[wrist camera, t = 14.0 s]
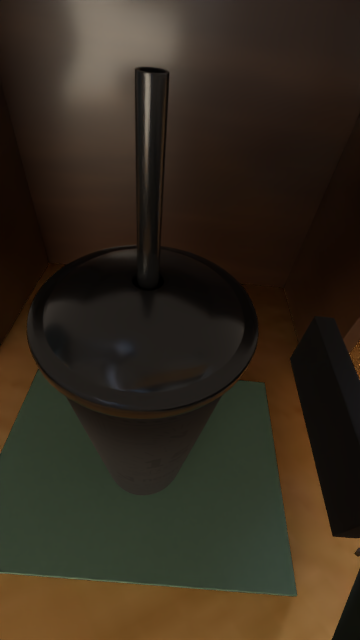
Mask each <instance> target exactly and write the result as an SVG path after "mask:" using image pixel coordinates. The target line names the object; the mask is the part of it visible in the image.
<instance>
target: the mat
mask: <svg viewBox="0 0 360 640" xmlns="http://www.w3.org/2000/svg"><path fill="white" fill-rule="evenodd" d="M0 573H4V574H16V575H29V576H42V577H54V578H67V579H80V580H92V581H105V582H117V583H130V584H143V585H155V586H168V587H181V588H193V589H206V590H219V591H231V592H244V593H256V594H269V595H282V596H297V591H296V584H295V578H294V571H293V565H292V558H291V552H290V545H289V538H288V532H287V525H286V519H285V512H284V506H283V499H282V493H281V486H280V480H279V473H278V467H277V460H276V454H275V447H274V441H273V434H272V428H271V421H270V415H269V408H268V402H267V395H266V389H265V383H263V382H253V381H243V380H238V382H237V383H236V384H235V385H234V386H233V387H232V388H231V389H230V390H228V391H227V392H226V393H225V394H223V395H222V397H221V398H220V400H219V402H218V404H217V405H216V407H215V409H214V411H213V412H212V414H211V416H210V418H209V419H208V421H207V423H206V425H205V426H204V428H203V430H202V432H201V433H200V435H199V437H198V439H197V440H196V442H195V444H194V446H193V447H192V449H191V451H190V453H189V454H188V456H187V458H186V460H185V461H184V463H183V465H182V467H181V468H180V470H179V472H178V474H177V475H176V477H175V478H174V480H173V481H172V482H171V483H170V484H169V485H168V486H167V487H166V488H165V489H163V490H161V491H160V492H157V493H155V494H151V495H135V494H131V493H129V492H127V491H125V490H123V489H122V488H121V487H119V486H118V485H117V483H116V482H115V481H114V479H113V478H112V476H111V474H110V473H109V471H108V469H107V468H106V466H105V464H104V462H103V461H102V459H101V457H100V455H99V454H98V452H97V450H96V448H95V447H94V445H93V443H92V441H91V440H90V438H89V436H88V434H87V433H86V431H85V429H84V427H83V426H82V424H81V422H80V421H79V419H78V417H77V415H76V414H75V412H74V410H73V408H72V407H71V405H70V403H69V401H68V400H67V398H66V396H64V395H63V394H61V393H60V392H59V391H58V390H57V389H56V388H54V387H53V386H52V385H51V384H50V383H49V382H48V380H47V379H46V378H45V377H44V376H43V374H42V373H41V371H40V370H39V368H38V371H37V373H36V375H35V377H34V380H33V382H32V384H31V386H30V389H29V391H28V393H27V395H26V398H25V400H24V402H23V404H22V407H21V409H20V411H19V413H18V416H17V418H16V420H15V422H14V425H13V427H12V429H11V431H10V434H9V436H8V438H7V440H6V443H5V445H4V447H3V449H2V451H1V454H0Z"/></svg>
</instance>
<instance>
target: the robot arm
mask: <svg viewBox="0 0 360 640" xmlns="http://www.w3.org/2000/svg"><path fill="white" fill-rule="evenodd" d="M290 361H291V365H292V370H293V374H294V378H295V382H296V386H297V390H298V394H299V399H300V403H301V407H302V411H303V415H304V419H305V423H306V428H307V432H308V436H309V440H310V444H311V448H312V452H313V457H314V461H315V465H316V469H317V473H318V477H319V481H320V486H321V490H322V494H323V498H324V502H325V506H326V510H327V515H328V519H329V523H330V527H331V531H332V535H333V537H346V538H360V380H359V377H358V375H357V373H356V370H355V368H354V365H353V363H352V360H351V358H350V355H349V353H348V351H347V348H346V346H345V343H344V341H343V338H342V336H341V333H340V331H339V329H338V326H337V324H336V321H335V319H334V318H330V317H320V316H314V318H313V320H312V321H311V323H310V325H309V327H308V328H307V330H306V332H305V333H304V335H303V337H302V339H301V340H300V342H299V344H298V345H297V347H296V349H295V351H294V352H293V354H292V356H291V357H290ZM354 554H355V555H356V556H360V548H358V549H357V550H356V552H355V553H354ZM332 640H360V569H359V572H358V574H357V577H356V579H355V582H354V585H353V587H352V590H351V592H350V595H349V597H348V600H347V602H346V605H345V607H344V610H343V613H342V615H341V618H340V620H339V623H338V625H337V628H336V630H335V633H334V635H333V638H332Z"/></svg>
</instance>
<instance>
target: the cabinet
mask: <svg viewBox="0 0 360 640" xmlns="http://www.w3.org/2000/svg"><path fill="white" fill-rule="evenodd" d="M142 66H146V67H157V68H162V69H166V70H168V71H169V72H170V77H169V97H168V116H167V135H166V154H165V173H164V192H163V211H162V230H161V246H166V247H171V248H176V249H180V250H184V251H187V252H191V253H193V254H196V255H199V256H201V257H203V258H206V259H208V260H209V261H211V262H213V263H215V264H217V265H218V266H220V267H221V268H223V269H224V270H226V271H227V272H228V273H229V274H231V275H232V276H233V277H234V278H235V279H236V280H237V281H238V282H239V283H245V284H254V285H263V286H273V287H282V288H284V291H285V294H286V298H287V302H288V306H289V309H290V313H291V317H292V320H293V324H294V328H295V332H296V335H297V339H298V343H299V342H300V340H301V339H302V337H303V335H304V333H305V332H306V330H307V328H308V327H309V325H310V323H311V321H312V320H313V318H314V316H320V317H330V318H334V319H335V321H336V324H337V326H338V329H339V331H340V333H341V336H342V338H343V341H344V343H345V346H346V348H347V351H348V353H350V352H351V350H352V349H353V348H354V347H355V345H356V344H357V343H358V342H359V340H360V0H0V346H1V344H2V342H3V340H4V339H5V337H6V335H7V334H8V332H9V330H10V328H11V327H12V325H13V323H14V322H15V320H16V318H17V316H18V315H19V313H20V311H21V310H22V308H23V306H24V304H25V303H26V301H27V299H28V298H29V296H30V294H31V292H32V291H33V289H34V287H35V286H36V284H37V282H38V280H39V279H40V277H41V275H42V274H43V272H44V270H45V268H46V267H47V265H48V263H57V264H66V265H67V264H69V263H70V262H72V261H74V260H76V259H78V258H80V257H82V256H85V255H87V254H90V253H93V252H96V251H99V250H103V249H107V248H112V247H118V246H126V245H137V227H136V149H135V68H136V67H142Z"/></svg>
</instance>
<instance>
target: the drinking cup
mask: <svg viewBox="0 0 360 640" xmlns="http://www.w3.org/2000/svg"><path fill="white" fill-rule="evenodd" d="M169 77H170V72H169V71H168V70H166V69H162V68H157V67H146V66H142V67H136V68H135V149H136V227H137V245H126V246H118V247H112V248H107V249H103V250H99V251H96V252H93V253H90V254H87V255H85V256H82V257H80V258H78V259H76V260H74V261H72V262H70V263H69V264H67V265H65V266H64V267H62V268H61V269H60V270H58V271H57V272H56V273H55V274H53V275H52V276H51V277H50V278H49V279H48V280H47V281H46V282H45V283H44V285H43V286H42V287H41V288H40V290H39V291H38V293H37V295H36V296H35V298H34V300H33V302H32V305H31V307H30V311H29V314H28V320H27V339H28V344H29V347H30V351H31V353H32V356H33V358H34V360H35V362H36V365H37V366H38V368H39V370H40V371H41V373H42V374H43V376H44V377H45V378H46V379H47V380H48V382H49V383H50V384H51V385H52V386H53V387H54V388H56V389H57V390H58V391H59V392H60V393H61V394H63V395H64V396H66V398H67V400H68V401H69V403H70V405H71V407H72V408H73V410H74V412H75V414H76V415H77V417H78V419H79V421H80V422H81V424H82V426H83V427H84V429H85V431H86V433H87V434H88V436H89V438H90V440H91V441H92V443H93V445H94V447H95V448H96V450H97V452H98V454H99V455H100V457H101V459H102V461H103V462H104V464H105V466H106V468H107V469H108V471H109V473H110V474H111V476H112V478H113V479H114V481H115V482H116V483H117V485H118V486H119V487H121V488H122V489H123V490H125V491H127V492H129V493H131V494H135V495H151V494H155V493H157V492H160V491H161V490H163V489H165V488H166V487H167V486H168V485H169V484H170V483H171V482H172V481H173V480H174V478H175V477H176V475H177V474H178V472H179V470H180V468H181V467H182V465H183V463H184V461H185V460H186V458H187V456H188V454H189V453H190V451H191V449H192V447H193V446H194V444H195V442H196V440H197V439H198V437H199V435H200V433H201V432H202V430H203V428H204V426H205V425H206V423H207V421H208V419H209V418H210V416H211V414H212V412H213V411H214V409H215V407H216V405H217V404H218V402H219V400H220V398H221V397H222V395H223V394H225V393H226V392H227V391H228V390H230V389H231V388H232V387H233V386H234V385H235V384H236V383H237V382H238V380H239V379H240V378H241V377H242V375H243V374H244V373H245V371H246V369H247V368H248V366H249V364H250V362H251V360H252V357H253V355H254V352H255V349H256V346H257V342H258V320H257V315H256V311H255V308H254V306H253V303H252V301H251V299H250V297H249V295H248V294H247V292H246V291H245V289H244V288H243V287H242V286H241V284H240V283H239V282H238V281H237V280H236V279H235V278H234V277H233V276H232V275H231V274H229V273H228V272H227V271H226V270H224V269H223V268H221V267H220V266H218V265H217V264H215V263H213V262H211V261H209V260H208V259H206V258H203V257H201V256H199V255H196V254H193V253H191V252H187V251H184V250H180V249H176V248H171V247H166V246H161V230H162V211H163V192H164V173H165V154H166V135H167V116H168V97H169Z"/></svg>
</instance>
